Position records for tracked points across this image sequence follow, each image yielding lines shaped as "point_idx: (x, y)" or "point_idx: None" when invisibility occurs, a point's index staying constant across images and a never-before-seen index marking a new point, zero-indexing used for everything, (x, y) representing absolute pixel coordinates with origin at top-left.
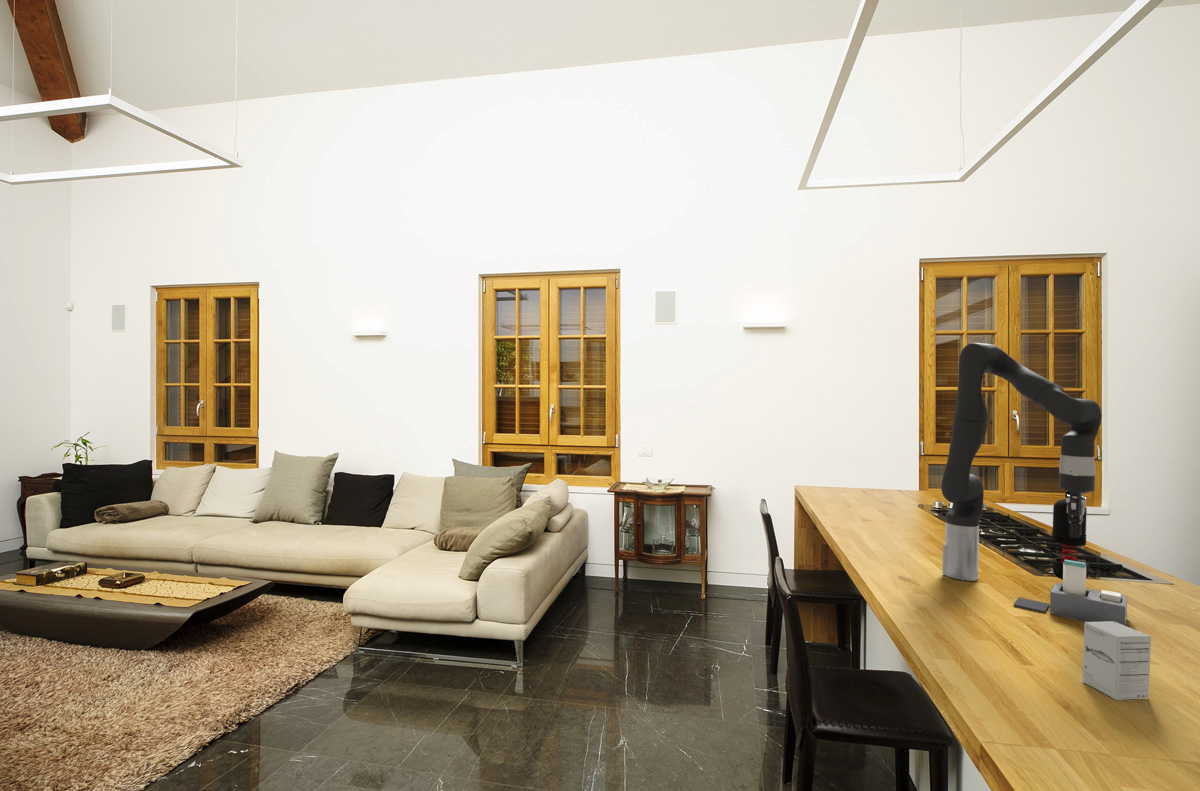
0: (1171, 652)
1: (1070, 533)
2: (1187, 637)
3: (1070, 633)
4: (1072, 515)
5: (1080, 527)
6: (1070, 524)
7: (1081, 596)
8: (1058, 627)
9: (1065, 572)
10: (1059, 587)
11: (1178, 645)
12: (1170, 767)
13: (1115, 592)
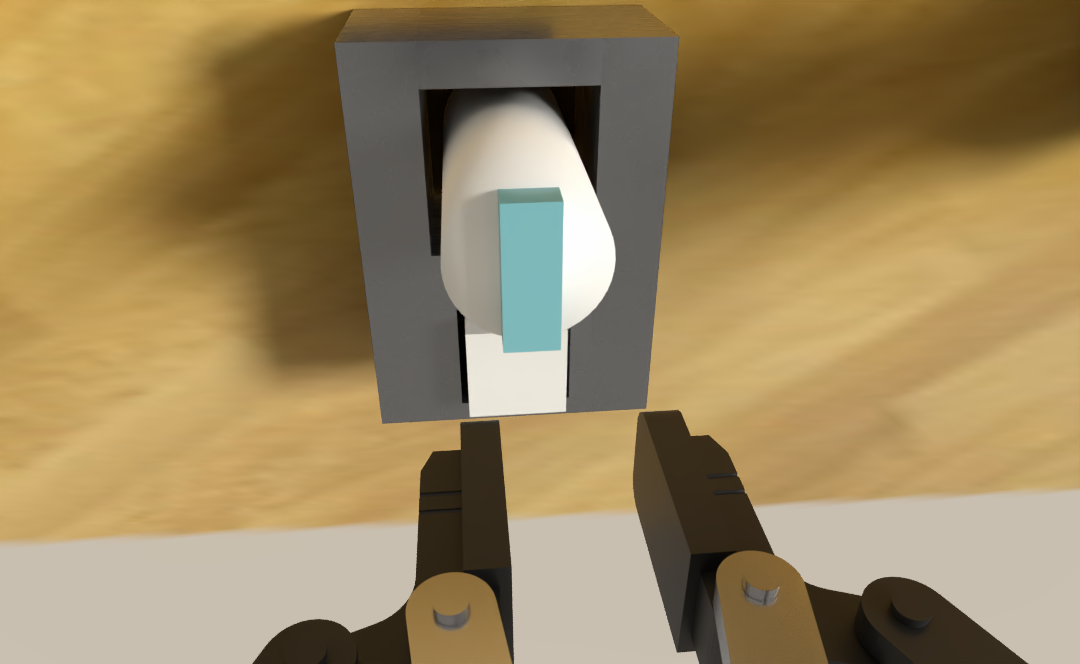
0: (235, 488)
1: (461, 453)
2: (519, 510)
3: (56, 158)
4: (723, 662)
5: (659, 576)
6: (462, 559)
7: (402, 227)
8: (104, 90)
9: (463, 179)
10: (534, 80)
11: (366, 498)
12: None
13: (559, 389)
